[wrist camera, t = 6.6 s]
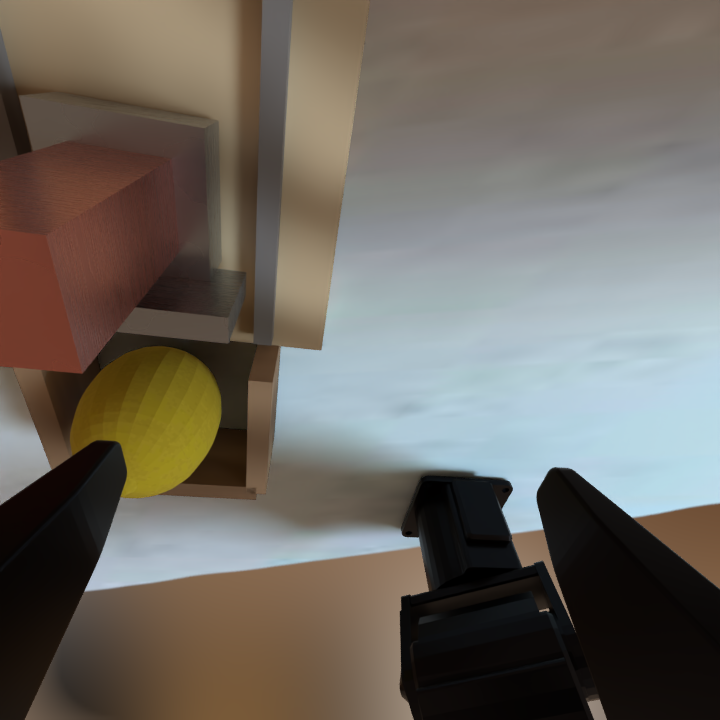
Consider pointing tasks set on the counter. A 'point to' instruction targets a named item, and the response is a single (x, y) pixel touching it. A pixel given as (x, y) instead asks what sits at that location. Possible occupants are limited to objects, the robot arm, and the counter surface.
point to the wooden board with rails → (220, 120)
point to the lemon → (151, 416)
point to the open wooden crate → (226, 456)
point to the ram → (110, 232)
